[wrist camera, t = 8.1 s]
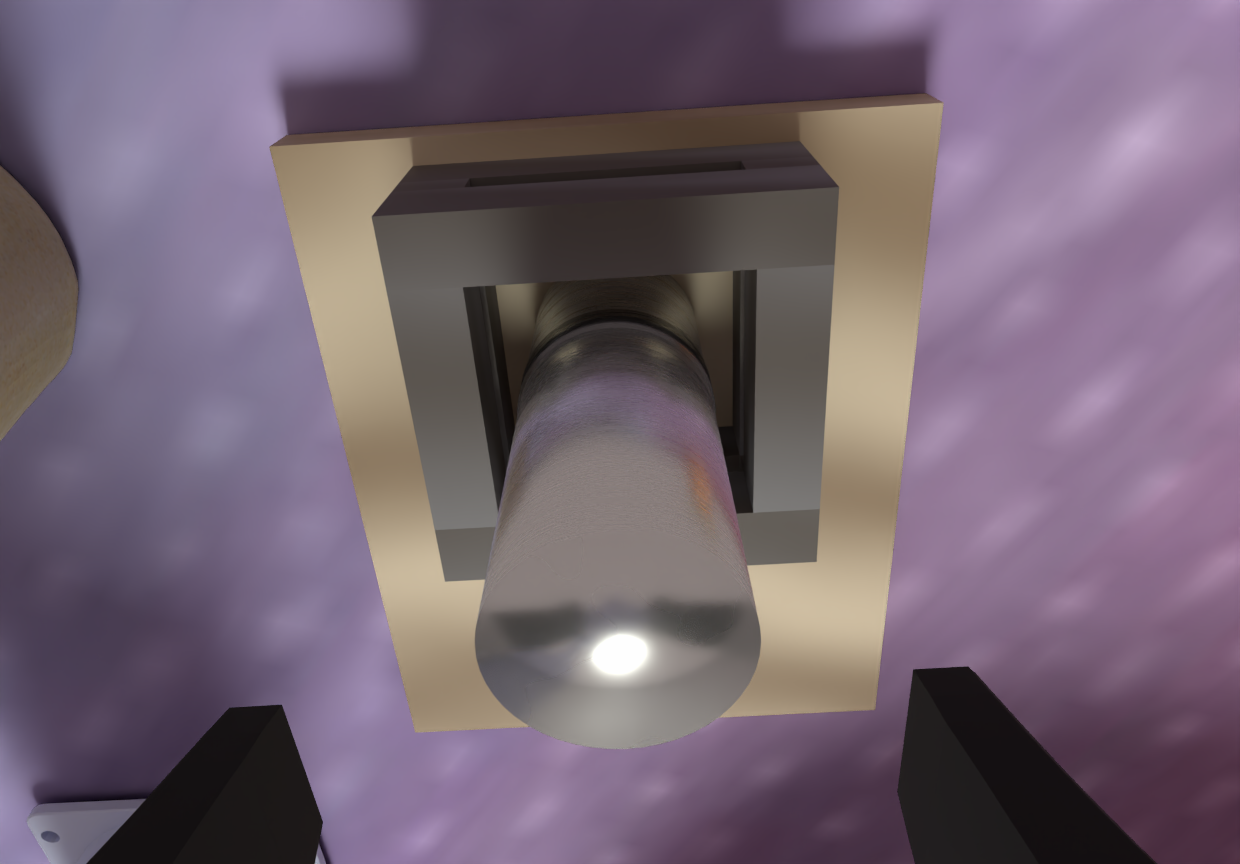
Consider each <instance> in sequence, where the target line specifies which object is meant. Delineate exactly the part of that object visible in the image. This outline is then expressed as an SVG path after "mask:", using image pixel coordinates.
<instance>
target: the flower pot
mask: <svg viewBox="0 0 1240 864" xmlns="http://www.w3.org/2000/svg"><path fill="white" fill-rule="evenodd" d="M77 300H78V281H77V277H76V274H75V271H74V267H73V264H72V261H71V259H70V257H69V254H68V252H67V250H66V248H65V246H64V243H63V241H62V239H61V237H60V235H59V233H58V232H57V230H56V229H55V227H54V226H53V224H52V222H51V221H50V219H49V218H48V216H47V215H46V214H45V212H44V211H43V210H42V208H41V207H40V206H39V205H38V203H37V202H36V201H35V200H34V199H33V198H32V196H31V195H30V194H29V193H28V192H27V191H26V190H25V189H24V188H23V187H22V186H21V185H20V184H19V183H18V182H17V181H16V180H15V179H14V178H13V177H12V176H11V175H10V174H9V173H8V172H7V171H6V170H5V169H4V168H3V167H1V166H0V441H1V440H2V439H3V437H4V436H5V435H6V434H7V433H8V431H9V430H10V429H11V428H12V426H13V425H14V424H15V423H16V422H17V420H18V419H19V418H20V417H21V415H22V414H23V413H24V412H25V410H26V409H27V408H28V407H29V406H30V405H31V404H32V403H33V402H34V401H35V399H36V398H37V397H38V396H39V395H40V393H41V392H42V391H43V390H44V389H45V387H46V386H47V385H48V384H49V383H50V382H51V381H52V380H53V379H54V378H55V377H56V376H57V375H58V373H59V372H60V371H61V370H62V369H63V368H64V366H65V365H66V363H67V361H68V359H69V357H70V355H71V353H72V348H73V340H74V334H75V324H76V313H77Z"/></svg>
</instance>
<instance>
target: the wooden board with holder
mask: <svg viewBox="0 0 1240 864" xmlns="http://www.w3.org/2000/svg"><path fill="white" fill-rule="evenodd" d="M942 111H943V102H941V101H939V100H938V99H936V98H934V97H932V96H930V95H928V94H927V93H923V94H907V95H892V96H877V97H862V98H846V99H831V100H816V101H800V102H785V103H770V104H754V105H739V106H724V107H708V108H693V109H678V110H663V111H647V112H632V113H617V114H601V115H586V116H571V117H555V118H540V119H525V120H509V121H494V122H479V123H464V124H448V125H433V126H418V127H402V128H387V129H372V130H356V131H341V132H326V133H310V134H295V135H286V136H285V137H283V138H282V139H280V140H279V141H277V142H276V143H274V144H273V145H271V146H270V151H271V155H272V159H273V163H274V167H275V171H276V175H277V179H278V183H279V187H280V191H281V195H282V199H283V203H284V207H285V211H286V215H287V219H288V223H289V227H290V231H291V235H292V239H293V243H294V247H295V251H296V255H297V259H298V263H299V267H300V271H301V275H302V279H303V283H304V287H305V291H306V295H307V299H308V303H309V307H310V312H311V316H312V320H313V324H314V328H315V332H316V336H317V340H318V344H319V348H320V352H321V356H322V360H323V364H324V368H325V372H326V376H327V380H328V384H329V388H330V392H331V396H332V400H333V404H334V408H335V412H336V416H337V420H338V424H339V428H340V432H341V436H342V440H343V444H344V448H345V452H346V456H347V460H348V464H349V468H350V472H351V476H352V480H353V484H354V488H355V492H356V496H357V500H358V504H359V508H360V512H361V516H362V520H363V524H364V528H365V532H366V536H367V540H368V544H369V548H370V552H371V556H372V560H373V564H374V568H375V572H376V576H377V580H378V584H379V588H380V592H381V596H382V600H383V604H384V608H385V612H386V616H387V620H388V624H389V628H390V632H391V636H392V640H393V644H394V648H395V652H396V657H397V661H398V665H399V669H400V673H401V677H402V681H403V685H404V689H405V693H406V697H407V701H408V705H409V709H410V713H411V717H412V721H413V725H414V729H415V732H434V731H455V730H475V729H495V728H516V727H530V726H528V725H527V724H525V723H524V722H522V721H521V720H519V719H518V718H516V717H515V716H514V715H513V714H511V713H510V712H509V711H508V710H507V709H506V708H505V707H504V706H503V705H502V704H501V703H500V702H499V701H498V700H497V699H496V697H495V696H494V695H493V694H492V692H491V691H490V689H489V687H488V686H487V684H486V683H485V681H484V678H483V676H482V674H481V672H480V669H479V666H478V662H477V659H476V652H475V630H476V624H477V619H478V613H479V608H480V603H481V598H482V593H483V588H484V583H485V578H486V573H487V568H488V563H489V558H490V553H491V547H492V542H493V537H494V532H495V527H496V522H497V517H498V512H499V507H500V502H501V497H502V492H503V487H504V481H505V476H506V471H507V466H508V461H509V456H510V451H511V446H512V441H513V436H514V431H515V426H516V421H517V406H518V398H519V393H520V388H521V383H522V378H523V374H524V370H525V368H526V365H527V363H528V360H529V354H530V349H531V344H532V339H533V334H534V329H535V324H536V319H537V315H538V311H539V307H540V305H541V302H542V300H543V298H544V296H545V294H546V293H547V291H548V289H549V288H550V287H551V286H552V284H553V283H554V282H559V281H575V280H592V279H608V278H624V277H641V276H657V275H671V276H672V277H673V278H674V279H675V280H676V281H677V282H678V283H679V285H680V286H681V287H682V288H683V290H684V291H685V293H686V295H687V296H688V298H689V300H690V303H691V305H692V308H693V311H694V316H695V320H696V325H697V330H698V334H699V339H700V344H701V349H702V353H703V358H704V361H705V364H706V366H707V369H708V372H709V376H710V380H711V385H712V389H713V394H714V398H715V407H716V420H717V425H718V429H719V434H720V439H721V444H722V448H723V453H724V458H725V463H726V467H727V472H728V477H729V482H730V486H731V491H732V496H733V501H734V505H735V510H736V515H737V520H738V525H739V529H740V534H741V539H742V544H743V548H744V553H745V558H746V563H747V567H748V572H749V577H750V582H751V586H752V591H753V596H754V601H755V605H756V610H757V615H758V620H759V624H760V632H761V648H760V657H759V660H758V664H757V667H756V670H755V673H754V675H753V677H752V679H751V681H750V683H749V685H748V686H747V688H746V689H745V691H744V692H743V694H742V695H741V696H740V697H739V699H738V700H737V701H736V702H735V703H734V704H733V705H732V706H731V707H730V708H729V709H728V710H727V711H726V712H724V713H723V714H722V715H721V716H720V717H740V716H760V715H780V714H801V713H821V712H842V711H862V710H875V705H876V697H877V688H878V679H879V670H880V661H881V652H882V643H883V635H884V626H885V617H886V608H887V599H888V590H889V581H890V572H891V564H892V555H893V546H894V537H895V528H896V519H897V510H898V502H899V493H900V484H901V475H902V466H903V457H904V448H905V439H906V431H907V422H908V413H909V404H910V395H911V386H912V377H913V369H914V360H915V351H916V342H917V333H918V324H919V315H920V306H921V298H922V289H923V280H924V271H925V262H926V253H927V244H928V236H929V227H930V218H931V209H932V200H933V191H934V182H935V173H936V165H937V156H938V147H939V138H940V129H941V120H942ZM718 718H719V717H718Z"/></svg>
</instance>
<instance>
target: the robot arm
mask: <svg viewBox="0 0 1240 864" xmlns="http://www.w3.org/2000/svg"><path fill="white" fill-rule="evenodd" d="M897 792H898V796H899V800H900V804H901V809H902V813H903V817H904V821H905V825H906V829H907V833H908V837H909V842H910V845H911V849H912V853H913V857H914V861H915V864H1157V863H1156V862H1155V861H1154V860H1153V859H1152V858H1151V857H1150V856H1149V855H1148V854H1147V853H1146V852H1145V851H1143V850H1142V849H1141V848H1140V847H1139V846H1138V845H1137V844H1136V843H1135V842H1134V841H1133V840H1132V839H1131V838H1130V837H1129V836H1128V835H1127V834H1126V833H1125V832H1124V831H1123V830H1122V829H1121V828H1120V827H1119V826H1118V825H1117V824H1116V823H1115V822H1114V821H1113V820H1112V819H1111V818H1110V817H1109V816H1108V815H1107V814H1106V813H1105V812H1104V811H1103V810H1102V809H1101V808H1100V807H1099V805H1098V804H1097V803H1096V802H1095V801H1094V800H1093V799H1092V798H1091V797H1090V796H1089V795H1088V794H1087V793H1086V792H1085V791H1084V790H1083V789H1082V788H1081V787H1080V786H1079V785H1078V784H1077V783H1076V782H1075V781H1074V780H1073V779H1072V778H1071V777H1070V776H1069V775H1068V774H1067V773H1066V772H1065V770H1064V769H1063V768H1062V767H1061V766H1060V765H1059V764H1058V763H1057V762H1056V761H1055V760H1054V759H1053V758H1052V757H1051V756H1050V754H1049V753H1048V752H1047V751H1046V750H1045V749H1044V748H1043V747H1042V746H1041V745H1040V744H1039V743H1038V742H1037V741H1036V739H1035V738H1034V737H1033V736H1032V735H1031V734H1030V733H1029V732H1028V731H1027V730H1026V729H1025V727H1024V726H1023V725H1022V724H1021V723H1020V722H1019V721H1018V720H1017V719H1016V718H1015V716H1014V715H1013V714H1012V713H1011V712H1010V711H1009V710H1008V709H1007V708H1006V707H1005V705H1004V704H1003V703H1002V702H1001V701H1000V700H999V699H998V698H997V696H996V695H995V694H994V693H993V692H992V691H991V690H990V689H989V688H988V686H987V685H986V684H985V683H984V682H983V681H982V680H981V679H980V678H979V676H978V675H977V674H976V673H975V672H973V671H972V670H971V669H970V668H969V667H950V668H932V669H915V670H913V676H912V684H911V691H910V699H909V707H908V715H907V722H906V730H905V738H904V745H903V753H902V761H901V768H900V776H899V784H898V791H897ZM27 824H28V826H29V828H30V830H31V831H32V833H33V835H34V836H35V838H36V840H37V841H38V843H39V845H40V846H41V848H42V850H43V851H44V853H45V855H46V856H47V858H48V860H49V861H50V863H51V864H326V862H325V859H324V856H323V853H322V851H321V848H320V845H319V840H320V835H321V829H322V824H323V821H322V818H321V815H320V812H319V810H318V807H317V804H316V801H315V798H314V795H313V792H312V790H311V787H310V784H309V781H308V778H307V775H306V772H305V770H304V767H303V764H302V761H301V758H300V755H299V752H298V750H297V747H296V744H295V741H294V738H293V735H292V733H291V730H290V727H289V724H288V721H287V718H286V715H285V713H284V710H283V707H282V705H270V706H252V707H234V708H229V709H228V710H227V711H226V712H225V713H224V714H223V715H222V716H221V718H220V719H219V720H218V721H217V722H216V723H215V724H214V725H213V726H212V727H211V728H210V729H209V730H208V731H207V733H206V734H205V735H204V736H203V737H202V738H201V739H200V740H199V741H198V742H197V743H196V745H195V746H194V747H193V748H192V749H191V750H190V751H189V752H188V753H187V754H186V756H185V757H184V758H183V759H182V760H181V761H180V762H179V763H178V764H177V765H176V767H175V768H174V769H173V770H172V771H171V772H170V773H169V774H168V775H167V777H166V778H165V779H164V780H163V781H162V782H161V783H160V784H159V785H158V786H157V788H156V789H155V790H154V791H153V792H152V793H151V794H150V795H149V796H148V797H147V799H132V800H111V801H90V802H69V803H48V804H41V805H37V806H36V807H34V808H33V810H32V812H31V813H30V815H29V816H28V818H27Z"/></svg>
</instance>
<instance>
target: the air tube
mask: <svg viewBox="0 0 1240 864" xmlns="http://www.w3.org/2000/svg"><path fill="white" fill-rule="evenodd" d="M760 648H761V632H760V624H759V620H758V615H757V610H756V605H755V601H754V596H753V591H752V586H751V582H750V577H749V572H748V567H747V563H746V558H745V553H744V548H743V544H742V539H741V534H740V529H739V525H738V520H737V515H736V510H735V505H734V501H733V496H732V491H731V486H730V482H729V477H728V472H727V467H726V463H725V458H724V453H723V448H722V444H721V439H720V434H719V429H718V425H717V420H716V407H715V398H714V394H713V389H712V385H711V380H710V376H709V372H708V369H707V366H706V364H705V361H704V358H703V353H702V349H701V344H700V339H699V334H698V330H697V325H696V320H695V316H694V311H693V308H692V305H691V303H690V300H689V298H688V296H687V295H686V293H685V291H684V290H683V288H682V287H681V286H680V285H679V283H678V282H677V281H676V280H675V279H674V278H673V277H672V276H671V275H657V276H641V277H624V278H608V279H592V280H575V281H559V282H554V283H553V284H552V286H551V287H550V288H549V289H548V291H547V293H546V294H545V296H544V298H543V300H542V302H541V305H540V307H539V311H538V315H537V319H536V324H535V329H534V334H533V339H532V344H531V349H530V354H529V360H528V363H527V365H526V368H525V370H524V374H523V378H522V383H521V388H520V393H519V398H518V406H517V421H516V426H515V431H514V436H513V441H512V446H511V451H510V456H509V461H508V466H507V471H506V476H505V481H504V487H503V492H502V497H501V502H500V507H499V512H498V517H497V522H496V527H495V532H494V537H493V542H492V547H491V553H490V558H489V563H488V568H487V573H486V578H485V583H484V588H483V593H482V598H481V603H480V608H479V613H478V619H477V624H476V630H475V652H476V659H477V662H478V666H479V669H480V672H481V674H482V676H483V678H484V681H485V683H486V684H487V686H488V687H489V689H490V691H491V692H492V694H493V695H494V696H495V697H496V699H497V700H498V701H499V702H500V703H501V704H502V705H503V706H504V707H505V708H506V709H507V710H508V711H509V712H510V713H511V714H513V715H514V716H515V717H516V718H518V719H519V720H521V721H522V722H524V723H525V724H527V725H528V726H530V727H532V728H534V729H536V730H537V731H539V732H541V733H543V734H546V735H548V736H551V737H553V738H556V739H558V740H562V741H565V742H569V743H572V744H576V745H582V746H587V747H594V748H605V749H630V748H640V747H647V746H653V745H658V744H662V743H666V742H669V741H673V740H676V739H679V738H681V737H684V736H686V735H689V734H691V733H693V732H695V731H697V730H699V729H701V728H703V727H705V726H707V725H708V724H710V723H711V722H712V721H714V720H715V719H717V718H718V717H720V716H721V715H722V714H723V713H724V712H726V711H727V710H728V709H729V708H730V707H731V706H732V705H733V704H734V703H735V702H736V701H737V700H738V699H739V697H740V696H741V695H742V694H743V692H744V691H745V689H746V688H747V686H748V685H749V683H750V681H751V679H752V677H753V675H754V673H755V670H756V667H757V664H758V660H759V657H760Z"/></svg>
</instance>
